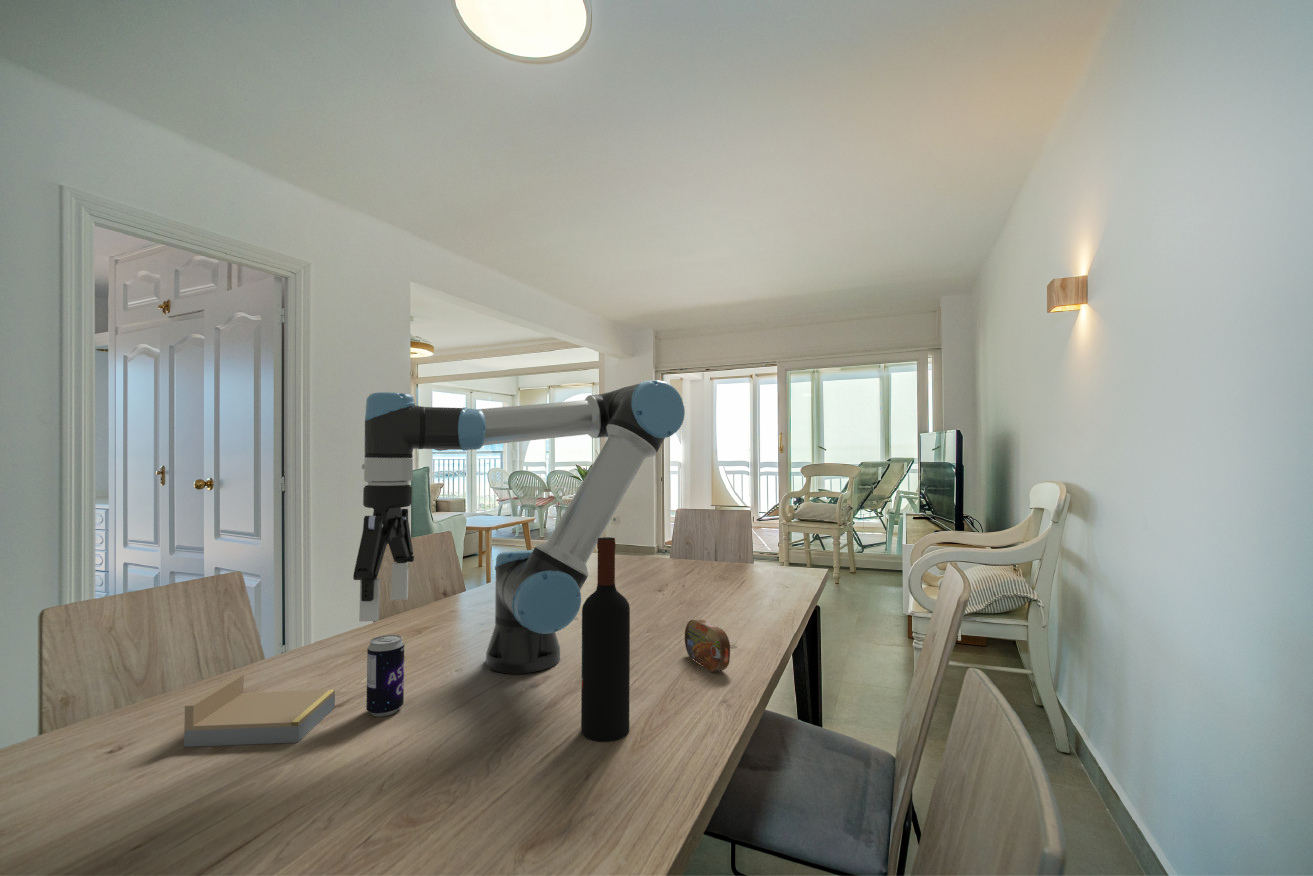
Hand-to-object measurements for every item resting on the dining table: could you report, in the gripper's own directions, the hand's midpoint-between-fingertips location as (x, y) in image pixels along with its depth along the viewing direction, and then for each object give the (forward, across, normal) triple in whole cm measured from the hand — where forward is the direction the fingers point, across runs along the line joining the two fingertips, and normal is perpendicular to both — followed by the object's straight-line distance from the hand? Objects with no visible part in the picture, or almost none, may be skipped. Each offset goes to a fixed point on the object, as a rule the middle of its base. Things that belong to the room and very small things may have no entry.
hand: (385, 609), depth 98 cm
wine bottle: (+17, +10, +37) cm, 42 cm away
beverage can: (+17, 0, 0) cm, 17 cm away
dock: (+17, +4, -17) cm, 24 cm away
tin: (+17, -17, +58) cm, 63 cm away
